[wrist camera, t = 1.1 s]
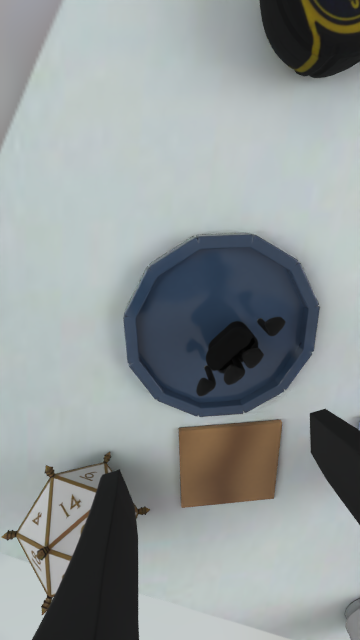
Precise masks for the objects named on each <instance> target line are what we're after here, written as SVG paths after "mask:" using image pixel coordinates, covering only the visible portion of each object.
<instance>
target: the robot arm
mask: <svg viewBox="0 0 360 640" xmlns="http://www.w3.org/2000/svg"><path fill="white" fill-rule="evenodd" d="M310 439H311V454H312V455H313V457H314V459H315V461H316V462H317V464H318V466H319V468H320V469H321V471H322V473H323V474H324V476H325V478H326V479H327V481H328V482H329V484H330V485H331V486H332V488H333V489H334V490H335V492H336V493H337V495H338V496H339V497H340V499H341V500H342V501H343V503H344V504H345V506H346V507H347V508H348V510H349V511H350V512H351V514H352V515H353V516H354V518H355V519H356V520H357V522H358V523H359V525H360V424H359V428H358V429H356V428H355V427H353V426H352V425H350V424H348V423H347V422H345V421H344V420H342V419H341V418H339V417H337V416H336V415H334V414H333V413H331V412H329V411H328V410H326V409H323V410H320V411H316V412H313V413H310ZM138 629H139V628H138V533H137V523H136V514H135V506H134V503H133V501H132V498H131V496H130V494H129V491H128V489H127V486H126V484H125V481H124V479H123V477H122V474H121V472H120V469H119V470H116V471H113V472H109V473H106V474H103V475H102V476H101V478H100V481H99V484H98V488H97V491H96V494H95V497H94V500H93V503H92V506H91V509H90V511H89V514H88V517H87V520H86V522H85V525H84V528H83V530H82V533H81V536H80V538H79V541H78V543H77V546H76V548H75V551H74V553H73V555H72V558H71V560H70V562H69V565H68V567H67V569H66V572H65V574H64V576H63V578H62V581H61V583H60V585H59V587H58V589H57V591H56V594H55V596H54V598H53V600H52V602H51V604H50V606H49V608H48V610H47V612H46V614H45V616H44V618H43V620H42V622H41V624H40V626H39V628H38V629H37V631H36V633H35V635H34V637H33V639H32V640H139V631H138Z"/></svg>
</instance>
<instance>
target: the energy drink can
mask: <svg viewBox="0 0 360 640" xmlns="http://www.w3.org/2000/svg"><path fill="white" fill-rule="evenodd" d="M345 616H346V618H347V620H346V629H347V631H348V634H349V636H350V638H351V640H360V599H358V600H356V601H354V602H353V603H351V604H350V605H349V606H348V608H347V609H346V612H345Z"/></svg>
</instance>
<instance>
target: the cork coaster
mask: <svg viewBox="0 0 360 640" xmlns="http://www.w3.org/2000/svg"><path fill="white" fill-rule="evenodd" d="M281 429H282V421H281V420H270V421H258V422H246V423H233V424H221V425H209V426H197V427H185V428H179V454H180V484H181V507H182V508H185V507H195V506H205V505H215V504H225V503H235V502H244V501H254V500H264V499H274V493H275V484H276V475H277V466H278V457H279V448H280V439H281Z"/></svg>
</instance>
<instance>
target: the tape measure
mask: <svg viewBox="0 0 360 640" xmlns="http://www.w3.org/2000/svg"><path fill="white" fill-rule="evenodd" d="M260 9H261V16H262V22H263V26H264V30H265V33H266V36H267V38H268V40H269V42H270V44H271V46H272V48H273V50H274V51H275V53H276V54H277V55H278V57H279V58H280V59H281V60H282V61H283V62H284V63H285V64H287V65H288V66H289V67H291V68H292V69H294V70H295V72H296V73H297V74H300V75H302V76H308V75H309V76H311V77H313V78H322V77H328V76H332V75H334V74H337V73H339V72H341V71H344V70H346V69H348V68H350V67H352V66H353V65H355V64H357V63H358V62H360V0H260Z"/></svg>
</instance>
